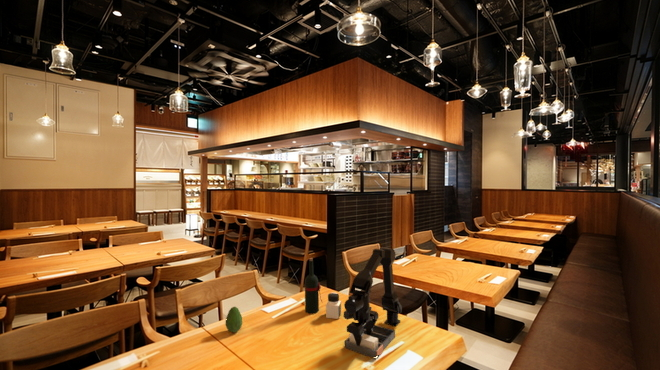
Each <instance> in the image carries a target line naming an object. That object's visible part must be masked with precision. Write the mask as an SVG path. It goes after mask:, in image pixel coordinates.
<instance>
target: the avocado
mask: <svg viewBox="0 0 660 370" xmlns="http://www.w3.org/2000/svg"><path fill="white" fill-rule="evenodd" d="M226 319H227V320H226ZM242 325H243V317H242V314H241V311H240V310H239V308H238V307H237V306H232V307H231V308H230V309H229V310H228V313H227V314H226V318H225V326H226V327H225V328H226V329H227V331H229V332H231V333H237V332H239V331H240V329H241V328H242Z"/></svg>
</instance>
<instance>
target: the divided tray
mask: <svg viewBox="0 0 660 370" xmlns="http://www.w3.org/2000/svg"><path fill="white" fill-rule="evenodd" d="M363 327H364V330H363V332H364V334H366V335H367V331H366V324H365V325H364V326H363ZM370 336H372V337H375V338H378V348H377V349H376V350H372V349H369V348H366V347H363V346H357V344H355V343H352V342H349V336H348V338H346V339H345V340H344V341H343V342H344V349H348V350H350V351H353V352H355V353H358V354H361V355H363V356H365V357H370V358H372V359H374V358H373V357H376V356H378V355H379V354H380V355H381V354H382V353H383V352H384V351H385V350H386V348H387V347H388V346H389V345H390V344H391V343H392V342H393V340H394V339H395V338H396V330H395V329H391V328H386V327H383V326H381V325H377V324H375V326H374V328H373V330H372V332H371V335H370Z"/></svg>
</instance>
